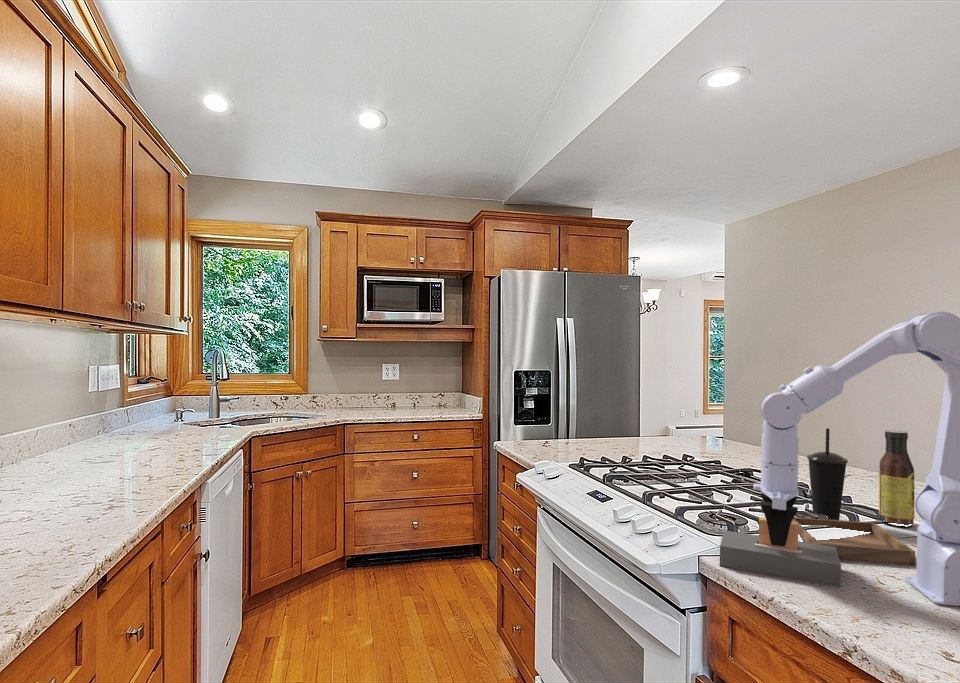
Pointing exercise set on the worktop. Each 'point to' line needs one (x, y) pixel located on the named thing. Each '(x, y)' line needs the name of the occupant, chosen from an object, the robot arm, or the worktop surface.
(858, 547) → the tray
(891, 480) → the sauce bottle
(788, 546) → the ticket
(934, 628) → the worktop surface
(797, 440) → the robot arm
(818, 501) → the drinking cup
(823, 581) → the dispenser
